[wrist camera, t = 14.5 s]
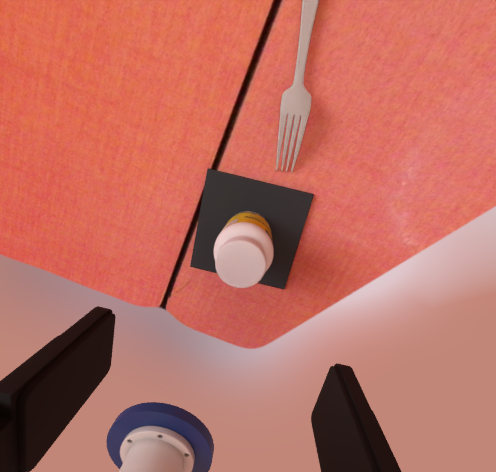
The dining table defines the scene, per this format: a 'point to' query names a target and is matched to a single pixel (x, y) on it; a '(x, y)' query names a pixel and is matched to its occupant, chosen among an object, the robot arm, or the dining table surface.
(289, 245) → the mat
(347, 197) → the dining table surface
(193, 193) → the dining table surface
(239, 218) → the supplement bottle
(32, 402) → the robot arm
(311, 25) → the fork
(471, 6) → the dining table surface
